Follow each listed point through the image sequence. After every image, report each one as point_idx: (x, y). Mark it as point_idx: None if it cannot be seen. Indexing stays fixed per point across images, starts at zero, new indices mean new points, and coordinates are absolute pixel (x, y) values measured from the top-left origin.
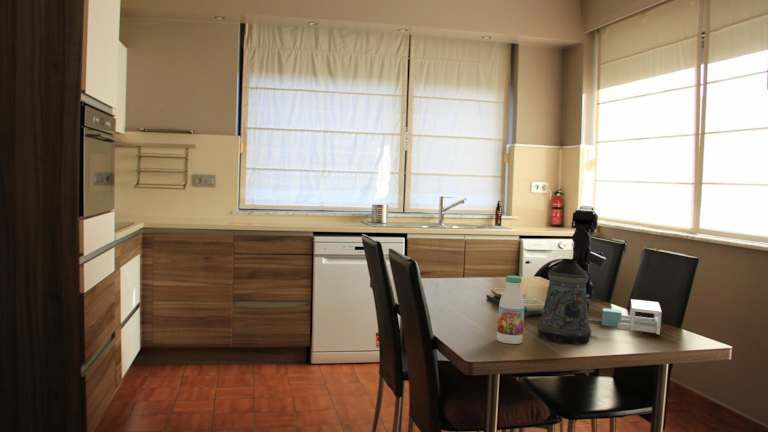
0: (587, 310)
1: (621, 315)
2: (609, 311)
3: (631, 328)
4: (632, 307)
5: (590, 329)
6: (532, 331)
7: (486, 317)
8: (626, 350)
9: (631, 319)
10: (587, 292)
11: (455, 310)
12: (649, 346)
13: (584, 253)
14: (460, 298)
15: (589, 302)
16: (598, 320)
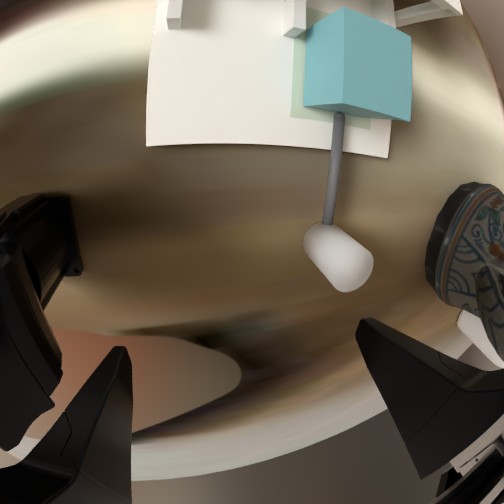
0: (41, 201)
1: (182, 3)
2: (410, 88)
3: (399, 24)
4: (452, 4)
5: (499, 190)
6: (423, 306)
7: (320, 406)
8: (496, 112)
9: (425, 20)
10: (21, 250)
11: (279, 444)
12: (462, 40)
13: None
14: (152, 463)
15: (6, 210)
16: (343, 128)
